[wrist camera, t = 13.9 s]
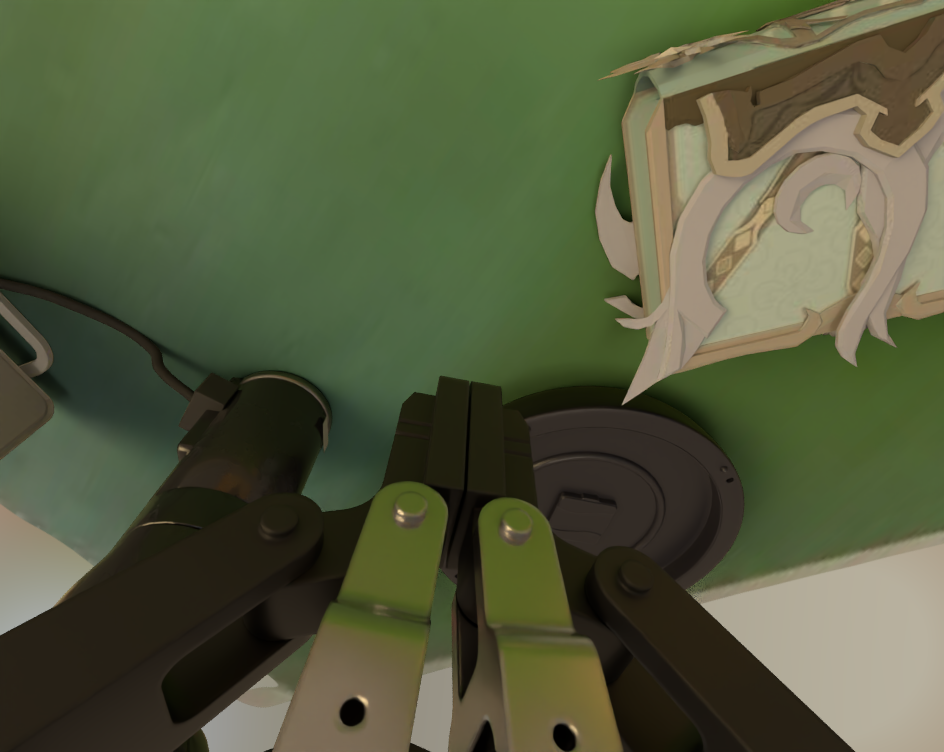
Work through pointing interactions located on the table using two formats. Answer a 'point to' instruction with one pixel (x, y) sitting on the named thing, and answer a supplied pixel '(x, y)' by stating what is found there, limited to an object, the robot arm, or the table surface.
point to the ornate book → (783, 185)
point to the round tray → (631, 478)
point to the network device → (22, 385)
